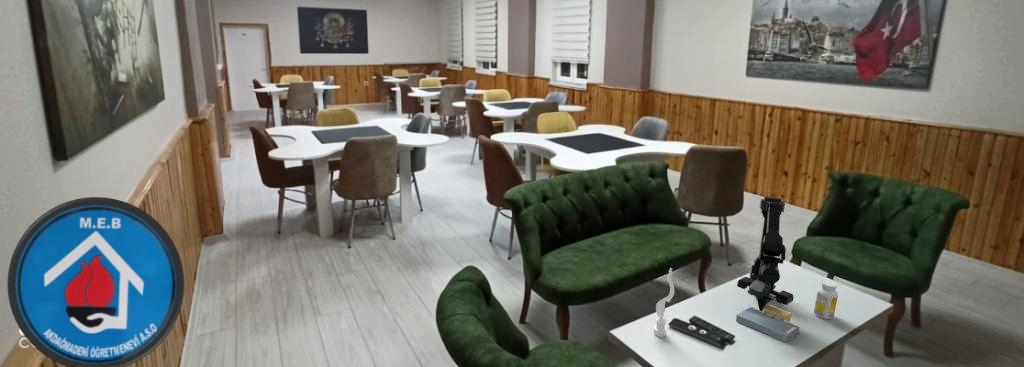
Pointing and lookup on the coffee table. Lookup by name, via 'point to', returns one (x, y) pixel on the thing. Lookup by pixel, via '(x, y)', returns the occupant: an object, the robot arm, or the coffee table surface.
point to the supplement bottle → (826, 300)
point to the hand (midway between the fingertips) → (761, 311)
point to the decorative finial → (663, 309)
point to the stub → (777, 313)
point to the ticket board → (768, 324)
